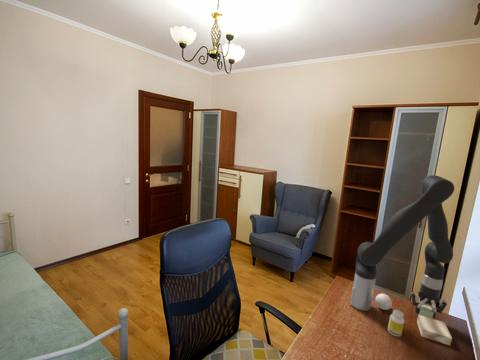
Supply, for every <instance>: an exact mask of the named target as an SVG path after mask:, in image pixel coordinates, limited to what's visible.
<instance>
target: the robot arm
mask: <svg viewBox="0 0 480 360" xmlns="http://www.w3.org/2000/svg"><path fill="white" fill-rule="evenodd" d="M420 187H421V191H422V195H421V196H420V197H419V198H418V199H417V200H416V201H414V202H412V203H410V204H409V205H406V206H405V207H403V208H401V209H399V210H398V211H396V212H395V213H394V214H393V215H392V216H390V218H389V219H388V220H387V222H386V223H385V224H384V226H383V227H382V229H381V232H380V233H379V235H378V236H377V238H376V239H375V240H374V241H373V242H370V241H365V242H362V243H361V244H360V245H359V246H358V247H357V253H356V259H355V273H354V278H353V284H352V289H351V296H350V306H353V307H354V308H355V309H357V310H358V311H359V310H360V311H363V312H367V311H370V310H371V307H372V301H373V297H374V291H375V285H376V280H377V279H376V278H377V265H378V264H379V263H380V262H381V261H382V260H383V259H384V258H385V257H386V255H388V253H389V251H391V250H392V249H393V247H395V246H396V245H397V244H398V243H399V242H400V241H402V239H403V238H404V237H406V236H407V235H408V234H409V233H410V232H411V231H412V230H413V229H414V228H415V227H416V226H417V225H418V224H419V223H420V222H422V220H424V219H425V218H426V217H427V233H428V239H429V240H430V241H431V242H429V243H427V244H426V246H425V248H424V260H425V268H424V273H423V275H422V277H421V282H420V288H419V291H418V292H414V291H412V290H411V292H410V294H411V302H412V305H413V306H414V307H415V308H414V309H415V313H416V315H417V316H418V315H419V311H420V307H421V306H422V305H428V306H429V305H430V306H431V308H432V310H433V313H434V314H433V319H435V318H436V313H439V314H442V313H443V311H444V310H445V308H446V307H447V306H448V305H447V301H446V300H445V299H441V297H440V296H441V292H442V287H443V283H444V282H443V281H444V276H445V273H446V272H445V271H446V269H445V267H444V266H443V265H442V264H449V263H450V262H451V261H452V260H453V257H454V250H453V248H452V244H451V241H450V239H449V225H448V220H447V217H446V214H445V211H444V207H443V203H444V202H446V201H447V200H448V199H449V198H451V197H452V195H453V194H454V193H455V192H454V191H455V185H454V183H453V182H452V181H451V180H448V179H446V178H444V177H442V176H439V175H435V174H434V175H433V174H432V175H428V176H426V177H424V178H423V179H422V181H421V184H420ZM417 297H419V299H418V301H416V300H417ZM438 303H439V305H438V307H436V304H438Z"/></svg>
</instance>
